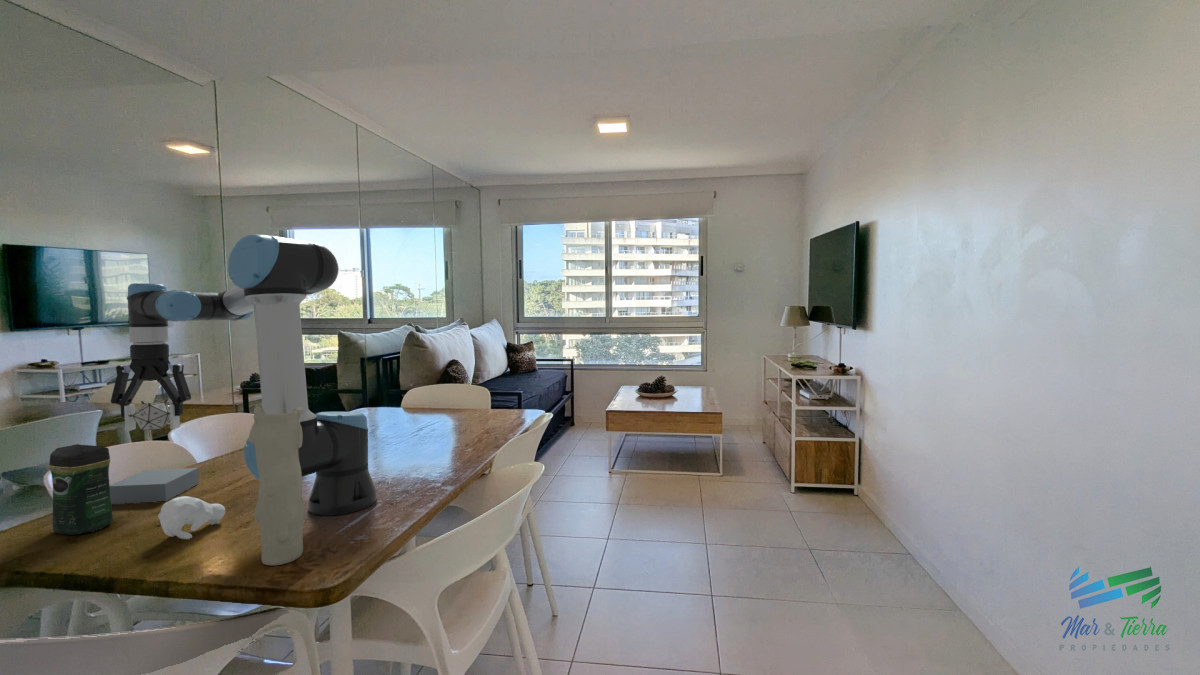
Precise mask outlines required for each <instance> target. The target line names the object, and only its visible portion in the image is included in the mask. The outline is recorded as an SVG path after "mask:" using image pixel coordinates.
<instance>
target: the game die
mask: <svg viewBox="0 0 1200 675" xmlns="http://www.w3.org/2000/svg"><path fill="white" fill-rule="evenodd" d="M140 401H141V403H140V404H141V405H140V406H139V408H137V410H135V413H134V415H129V416H130V417H132V416H133V418H134V420H135V421H136V425H137V427H138V428H139V430H138V434H142V432H143V431H152V430H154V431H155V430H162V431H163V432H166V428H165V427H166V426H167V425H168V423H170V407H169V406H168V405H167V402H168V399H165V400H164V401H160V402H144V401H143V400H140Z"/></svg>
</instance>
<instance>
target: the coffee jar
mask: <svg viewBox="0 0 1200 675" xmlns="http://www.w3.org/2000/svg"><path fill="white" fill-rule="evenodd" d="M110 463H111V455H110V450H109V448H108V447H106V446H103V445H90V444H89V445H88V444H79V443H76V444H72V445H71V444H70V445H66V446H61V447H57V448H55V449H54V451H53V450H52V452H51V453H50V455H49V464H48V465H49V471H50V474H51V479H52V531H53V532H54V533H56V534H61V535H62V534H63V535H71V536H72V535H80V534H83V533H84V534H85V533H88V532H95V530H96V531H98V529H99V530H101V529H103V528H105V527H107V526H109V525H110V524H111V523H113V519H114V517H113V516H114V515H113V506H112V504H111V496H110V485H111V484H110V474H109V473H110V472H109V471H110V470H109V469H110Z"/></svg>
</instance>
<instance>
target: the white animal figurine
mask: <svg viewBox="0 0 1200 675" xmlns="http://www.w3.org/2000/svg"><path fill="white" fill-rule="evenodd" d="M225 514H226V508H225V506H224V505H222V504H220V503H208V502H206V501H204V500H202V499H200V498H197V497H193V496H184V495H183V496H176V497H174V498H172V499H171V500H169V501H167V502H164V503H163V505H162V506H161V508H160V512H159V513H158V515H157V517H158V519H159V521H160V525H161V528H162V530H163V532H164V534H165V535H167V536H168V537H172V538H173V537H175V536H176V537H177V538H178V539H180V540H191V539H192V538H193V535H192V533H189V531H183V527H184V526H185V525H187V526H189V525H190V530H191V531H192V532H195V531H196V530H198V529H199V528H200V527H202V526H203V525H204V524H207V523H209V524H210V525H211V526H212V525H216V524H217V526H218V524H219V523H220V522H221V520H222V519H223V517H224V516H225ZM190 538H191V539H190Z"/></svg>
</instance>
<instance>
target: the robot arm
mask: <svg viewBox="0 0 1200 675" xmlns="http://www.w3.org/2000/svg"><path fill="white" fill-rule="evenodd" d="M227 271H228V277H229V279H230V280H232V281H231V282H232V283H233V285H234V287H232V288H230V289H227V290H224V291H222V292H221V291H220V292H214V291H213V292H211V291H189V290H188V291H186V290H176V289H174V290H173V289H172V290H167V287H166V285H165V284H160V283H149V282H148V283H145V282H143V283H138V282H137V283H130V284H129V285H128V286H127V296H126V300H127V310H128V335H129V337H128V338H129V342H130V343H132V344H131V345H129V355H130V359H131V362H130V363H129V364H119V365H116V367H115V370H116V378H115V382H114V386H113V390H112V393H111V394H112V395H111V398H110V402H111V404H116V405H119V406H120V417H121V418H122V419H124V430H125V432H130V431H134V430H136V429H137V426H136V425H137V423H136V421H135V420H134V418H133V416H132V417H130V416H129V415H134V413H135V412H136V404H135V403H134V404H133V400H134V398H135V396H136V395H137V393H138V391H139V389H140V388H141V386H142V384H143V383H144V382H145V381H146V380H156V382H158V383H159V384H160V385H161V387H162V388H163V390H164V392H165V393H166V394H167V396H168V397H169V399H170V400H171V402H172V403H171V404H168V405H169V406H168V408H169V410H170V421H169V426H170V427H169V429H170V430H175V429H178V428H180V427H181V419H180V416H183V413H184V406H183V405H184V402H187V401H189V400H191V399H192V395H191V392H190V389H189V386H188V383H187V380H186V377H185V373H184V369H185V368H184V367H185V366H184V365H185V364H183V363H171V362H170V360H169V358H170V345H169V344H168V343H166V342H169V324H168V322H176V323H177V322H187V321H188V322H189V321H191V322H192V321H193V322H194V321H195V322H197V321H232V322H233V321H235V322H236V321H240V320H247V319H249V318H250V317H251V316H252V315H253V314H254V323H255V324H254V325H255V334H256V335H255V337H256V346H257V349H256V350H257V359H258V371H259V372H258V373H259V383H260V395H261V396H260V398H261V405H262V406H261V408H263V409H264V412H265V414H282V413H289V412H293V410H294V409H295V408H297V407H302V408H303V412H302V414H301V416H300V419H299V420H300V425H301V428H302V434H303V440H302V446H301V447H300V448H299V449H298V456H299V462H300V467H301V474H302V478H303V477H306V476H308V475H312V474H315V479H314V482H313V485H312V488H311V491H310V494H309V497H308V501H307V502H308V512H310V513H311V514H314V515H318V516H340V515H345V514H351V513H354V512H355V513H356V512H358V511H361V510H365V509H366V508H369V507H370V506H372V505H373V504H375V502H376V501H377V488H376V487H375V483H374V481H373V479H372V476H371V473H370V470H369V428H368V420H367V419H368V418H367V416H366V415H365V414H364V413H361V412H354V411H321V412H317V413H314V412H312V411H311V410H310V409H309V402H308V401H309V400H308V390H307V378H306V366H305V355H304V343H303V340H304V339H303V329H302V318H301V306H300V305H301V303H302V302H303V301H304V300H305V299H306V298H307V295H310V296H311V295H314V294H316V293H319V292H322V291H324V290H326V289H328V288H330V287H331V286H332V285H333V284H334V283H335V282H336V280H337V278H338V276H339V262H338V261H337V258H336V256H335V255H334V253H333V252H332V251H331V249H328V248H327V247H326V246H324V245H322V244H320V243H317V242H315V241H309V240H299V239H295V238H289V237H283V236H275V235H273V234H267V235H266V234H257V233H254V234H247V235H245V236H242V237H241V238H240V239H238V241H237V242H236V243H235V245H234V247H232V249H231V252H230V254H229V256H228V261H227ZM169 370H170V372H171V373H172V378H173V380H174V383H173V381H172V380H171V376H170V375H169V374H168V371H169ZM131 371H132V372H133V376H132V378H131V379H130V383H129V385H128V381H129V376H130V372H131ZM127 385H128V387H127ZM243 456H244V461H245V464H246V466H247V469H248V471H249V472H250V473H251V475H252V476H254V478H255V479H256V480H257V481H259V482H260V479H259V472H258V467H257V462H256V450H255V445H254V444H251V443H250V442H249V437H248V438H247V439H246V441H245V444H244V447H243Z"/></svg>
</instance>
